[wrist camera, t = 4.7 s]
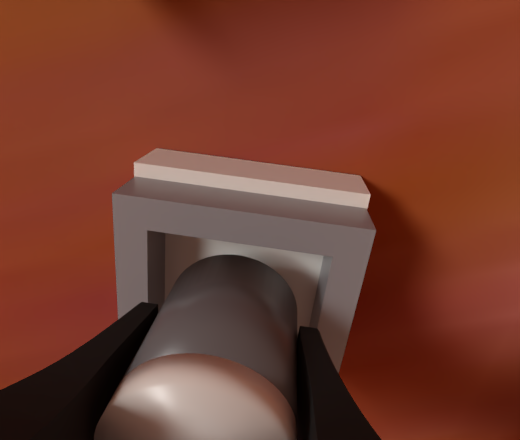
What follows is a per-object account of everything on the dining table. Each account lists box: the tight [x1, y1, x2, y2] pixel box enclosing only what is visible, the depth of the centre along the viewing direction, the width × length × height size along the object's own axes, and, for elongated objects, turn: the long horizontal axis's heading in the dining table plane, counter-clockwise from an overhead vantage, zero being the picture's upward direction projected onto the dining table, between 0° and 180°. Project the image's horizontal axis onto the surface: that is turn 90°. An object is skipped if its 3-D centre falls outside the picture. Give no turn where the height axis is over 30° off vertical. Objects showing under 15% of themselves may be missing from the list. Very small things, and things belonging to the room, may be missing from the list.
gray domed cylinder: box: [94, 254, 297, 440], centre depth 12 cm, size 5×5×6 cm
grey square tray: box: [112, 148, 376, 374], centre depth 16 cm, size 10×9×4 cm
